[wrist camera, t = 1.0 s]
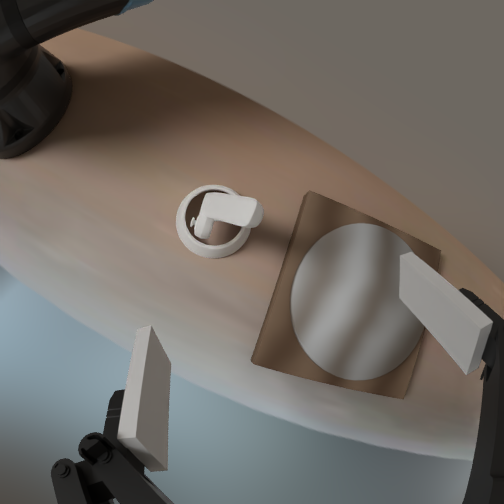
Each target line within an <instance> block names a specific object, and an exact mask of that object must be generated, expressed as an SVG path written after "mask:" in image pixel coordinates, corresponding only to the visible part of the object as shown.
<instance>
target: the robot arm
mask: <svg viewBox="0 0 504 504" xmlns="http://www.w3.org/2000/svg"><path fill="white" fill-rule="evenodd" d="M152 1H154V0H0V158H10V157H14V156H17V155H20V154H22V153H24V152H26V151H28V150H29V149H31V148H32V147H34V146H35V145H37V144H38V143H39V142H40V141H41V140H43V139H44V138H45V137H46V136H47V135H48V134H49V133H50V132H51V131H52V129H53V128H54V127H55V126H56V125H57V123H58V122H59V120H60V119H61V117H62V116H63V114H64V112H65V110H66V108H67V106H68V104H69V101H70V98H71V93H72V81H71V78H70V75H69V73H68V71H67V69H66V67H65V65H64V64H63V63H62V62H61V61H60V60H59V59H58V58H57V57H55V56H54V55H53V54H51V53H50V52H49V51H47V50H46V49H45V48H43V47H42V46H41V45H39V44H40V43H43V42H45V41H47V40H49V39H52V38H54V37H56V36H59V35H61V34H63V33H66V32H68V31H71V30H73V29H76V28H78V27H81V26H84V25H86V24H89V23H92V22H95V21H98V20H101V19H104V18H107V17H110V16H113V15H115V16H117V15H120V14H122V13H124V12H126V11H127V10H131V9H134V8H137V7H140V6H143V5H147V4H149V3H150V2H152ZM399 298H400V299H401V300H402V302H403V303H404V304H405V305H406V306H407V307H408V308H409V309H410V310H411V311H412V313H413V314H414V315H415V316H416V317H417V318H418V319H419V320H420V321H421V323H422V324H423V325H424V326H425V327H426V328H427V329H428V330H429V332H430V333H431V334H432V335H433V336H434V337H435V339H436V340H437V341H438V342H439V343H440V344H441V345H442V347H443V348H444V349H445V350H446V351H447V353H448V354H449V355H450V356H451V357H452V358H453V360H454V361H455V362H456V363H457V364H458V366H459V367H460V368H461V369H462V371H463V372H464V373H465V374H466V375H467V374H469V373H471V372H472V371H474V370H476V369H477V368H479V365H480V362H481V359H483V361H484V362H485V363H486V364H485V367H484V370H483V372H482V375H481V378H480V380H482V379H483V376H484V382H483V395H482V406H481V415H480V423H479V430H478V437H477V443H476V449H475V454H474V459H473V464H472V469H471V474H470V478H469V482H468V486H467V490H466V494H465V498H464V501H463V503H462V504H504V320H503V319H502V318H501V317H500V316H499V315H498V314H497V313H496V312H494V311H493V310H492V309H491V308H490V307H489V306H488V305H486V304H484V302H483V301H482V300H481V299H479V298H478V297H477V296H476V295H475V294H474V293H473V292H471V291H469V290H466V289H464V288H462V289H460V290H457V289H456V288H455V287H454V286H453V285H451V284H450V283H449V282H448V281H447V280H446V279H444V278H443V277H442V276H441V275H440V274H438V273H437V272H436V271H435V270H434V269H432V268H431V267H430V266H429V265H427V264H426V263H425V262H424V261H423V260H421V259H420V258H419V257H418V256H416V255H415V254H414V253H413V252H409V253H406V254H403V255H400V286H399ZM170 375H171V362H170V361H169V359H168V357H167V355H166V353H165V351H164V349H163V347H162V345H161V343H160V342H159V340H158V338H157V336H156V334H155V332H154V330H153V328H152V326H151V325H150V326H146V327H142V328H138V329H137V333H136V338H135V342H134V347H133V352H132V357H131V361H130V367H129V371H128V377H127V382H126V388H125V389H124V390H118V391H115V392H114V394H113V396H112V397H111V399H110V401H109V406H108V411H107V416H106V417H107V418H106V421H105V426H104V431H103V434H101V433H97V432H94V433H90V434H88V435H86V436H85V437H84V438H83V439H82V440H81V442H80V444H79V448H78V451H79V454H80V456H81V457H82V458H84V459H85V460H84V461H81V462H78V463H74V462H73V461H71V460H70V459H66V458H65V459H60V460H59V461H57V462H56V463H55V464H54V466H53V467H52V470H51V477H52V482H53V486H54V490H55V494H56V498H57V502H58V504H114V502H113V499H114V498H116V499H117V501H118V502H119V503H120V504H174V503H173V502H172V501H171V500H170V499H169V498H168V497H167V496H166V495H164V493H163V492H162V491H161V490H160V489H159V488H158V487H157V486H156V485H155V484H154V483H153V482H152V481H151V480H150V479H149V478H148V477H147V476H146V475H145V474H144V467H146V468H147V469H148V470H149V471H151V472H154V471H165V470H168V469H167V467H168V418H169V394H170V393H169V392H170Z"/></svg>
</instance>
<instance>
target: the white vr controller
mask: <svg viewBox="0 0 504 504" xmlns="http://www.w3.org/2000/svg"><path fill="white" fill-rule="evenodd" d="M209 190H219V191H223V192H226V193H228V194H225V193H218V192H213V193H206V195H205V197H204V199H203V203H202V206H201V210H200V213H199V216H198V217H197V220H195V218H194V217H193V218H192V220H191V224H190V227H192V226H193V225H195V227H194V230H195V232H194V235H196V236H197V237H199V238H201V239H208V238H209V237H210V234H211V231H212V227H213V224H214V221H224V222H227V223H231V224H234V225H238V226H242V227H241V230H240V232H239V233H238V235H237V236H236V237H235V238H234V239H232V240H231V241H230V242H228V243H225V244H223V245H218V246H211V245H206V244H204V243H201V242H199V241H198V240H196V239H195V238H194V237H193V236H192V235H191V233H190V232H189V230H188V228H187V226H186V221H185V214H186V209H187V207H188V205H189V203H190V201H191V200H192V199H193V198H194V197H195V196H197V195H198V194H200V193H202V192H205V191H209ZM263 215H264V209H263V207H262V205H261V204H260V203H259V202H258V201H257V200H256V199H254V198H250V197H245V196H240V195H239V194H238V193H237V192H235V191H234V190H232V189H230V188H228V187H225V186H221V185H206V186H202V187H200V188H197V189H195V190H194V191H192V192H191V193H189V194H188V195H187V196H186V197H185V198H184V200H183V201H182V202H181V204H180V206H179V208H178V211H177V215H176V228H177V232H178V235H179V237H180V239H181V241H182V242H183V244H184V245H185V246H186V247H187V248H188V249H189V250H190V251H192V252H193V253H195V254H197V255H199V256H202V257H206V258H222V257H226V256H228V255H231V254H233V253H234V252H236V251H237V250H239V249H240V248H241V247H242V245H243V244H244V243H245V241H246V240H247V238H248V236H249V233H250V230H251V228H254V227H257V226H258V225H259V224H260V222H261V220H262V218H263Z"/></svg>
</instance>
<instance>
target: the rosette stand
mask: <svg viewBox="0 0 504 504" xmlns="http://www.w3.org/2000/svg"><path fill="white" fill-rule="evenodd" d="M409 252H413V253H414V254H415V255H416V256H418V257H419V258H420V259H421V260H423V261H424V262H425V263H426V264H427V265H429V266H430V267H431V268H432V269H434V270H435V271H436V272H437V271H438V265H439V259H440V253H441V250H439V249H437V248H435V247H433V246H431V245H429V244H427V243H425V242H423V241H421V240H419V239H417V238H415V237H413V236H411V235H409V234H407V233H404V232H402V231H400V230H398V229H396V228H394V227H392V226H390V225H388V224H385V223H383V222H381V221H379V220H377V219H375V218H372V217H370V216H368V215H366V214H364V213H361V212H359V211H357V210H355V209H352V208H350V207H348V206H346V205H343V204H341V203H339V202H336V201H334V200H332V199H329V198H327V197H324V196H322V195H320V194H317V193H315V192H312V191H309V192H308V193H307V194H306V195H305V196H304V197H303V201H302V204H301V207H300V211H299V214H298V217H297V220H296V224H295V227H294V230H293V233H292V236H291V240H290V243H289V246H288V249H287V252H286V255H285V259H284V262H283V265H282V268H281V271H280V274H279V277H278V280H277V283H276V286H275V290H274V293H273V296H272V299H271V302H270V305H269V308H268V311H267V314H266V317H265V320H264V323H263V326H262V329H261V332H260V334H259V337H258V340H257V343H256V346H255V349H254V352H253V355H252V358H251V362H252V363H253V364H255V365H258V366H262V367H265V368H269V369H272V370H276V371H280V372H283V373H287V374H291V375H294V376H298V377H302V378H306V379H310V380H314V381H318V382H322V383H326V384H330V385H335V386H339V387H344V388H348V389H353V390H358V391H362V392H367V393H372V394H377V395H383V396H388V397H394V398H399V399H404V396H405V394H406V391H407V388H408V385H409V382H410V379H411V376H412V372H413V369H414V366H415V363H416V359H417V356H418V353H419V349H420V346H421V342H422V338H423V335H424V331H425V326H424V325H423V324H422V323H421V321H420V320H419V319H418V318H417V317H416V316H415V315H414V314H413V313H412V311H411V310H410V309H409V308H408V307H407V306H406V305H405V304H404V303H403V302H402V300H401V299H400V298H399V286H400V255H403V254H406V253H409Z"/></svg>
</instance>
